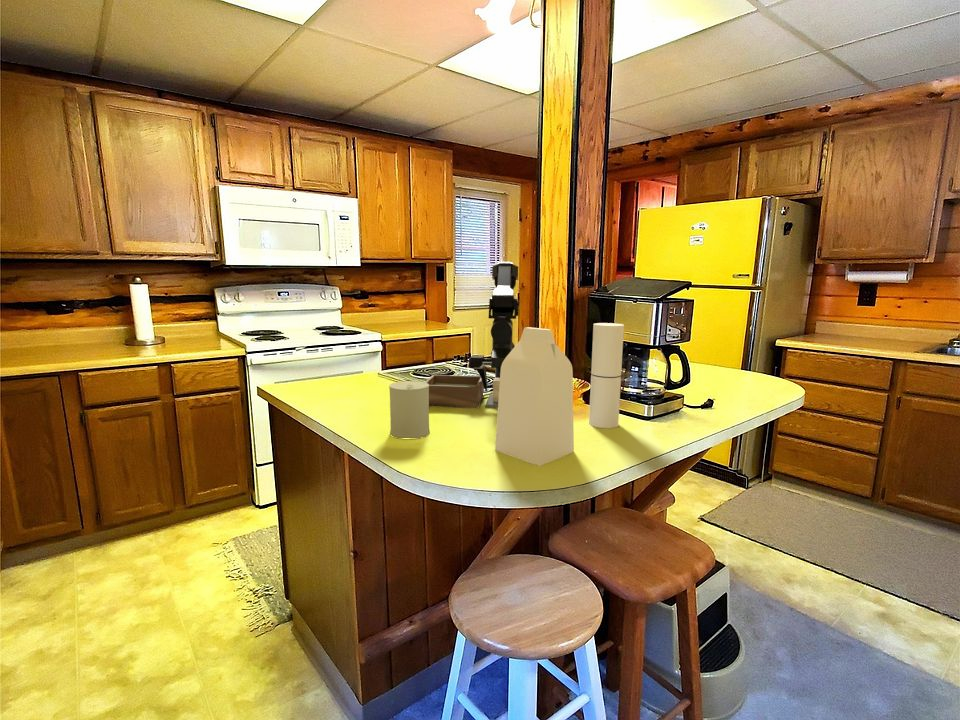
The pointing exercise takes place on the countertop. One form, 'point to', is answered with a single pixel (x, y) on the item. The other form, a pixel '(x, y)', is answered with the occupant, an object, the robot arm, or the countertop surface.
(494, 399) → the block
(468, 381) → the crate
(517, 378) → the milk
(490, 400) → the pad
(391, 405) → the can
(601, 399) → the cylindrical container
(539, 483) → the countertop surface
